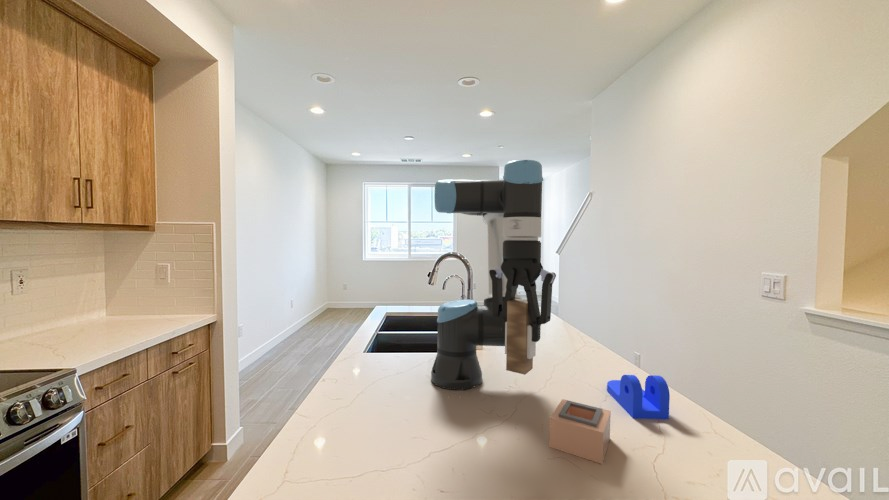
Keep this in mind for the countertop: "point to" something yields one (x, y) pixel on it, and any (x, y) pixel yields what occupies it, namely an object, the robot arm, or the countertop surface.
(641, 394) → the bracket
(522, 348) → the tall wooden block
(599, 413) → the peach square socket block
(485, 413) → the countertop surface
